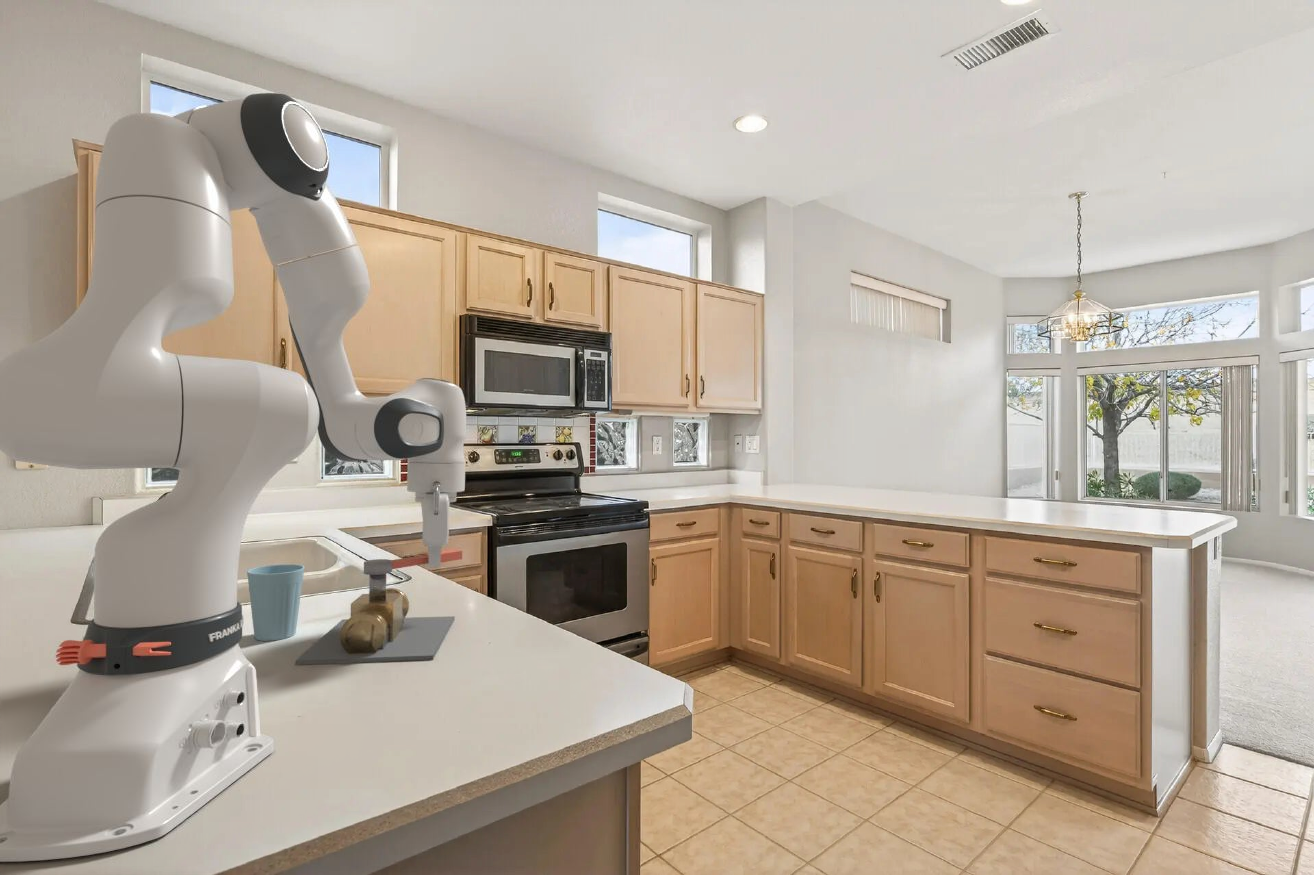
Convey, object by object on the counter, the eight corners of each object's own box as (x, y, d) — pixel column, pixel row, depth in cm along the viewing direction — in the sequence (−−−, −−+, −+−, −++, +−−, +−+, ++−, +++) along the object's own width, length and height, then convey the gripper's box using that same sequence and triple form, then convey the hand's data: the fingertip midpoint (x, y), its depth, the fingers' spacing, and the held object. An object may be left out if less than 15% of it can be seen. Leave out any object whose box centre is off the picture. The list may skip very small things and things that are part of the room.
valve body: (384, 656, 93) (385, 585, 93) (339, 658, 92) (340, 586, 92) (409, 624, 108) (409, 563, 108) (370, 625, 107) (371, 564, 107)
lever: (372, 576, 97) (372, 565, 97) (358, 572, 100) (358, 561, 100) (465, 560, 110) (465, 550, 110) (450, 557, 113) (450, 548, 113)
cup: (306, 638, 100) (307, 570, 100) (247, 646, 96) (248, 576, 96) (300, 626, 107) (301, 562, 107) (245, 633, 102) (246, 567, 102)
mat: (432, 659, 92) (433, 655, 92) (295, 664, 89) (295, 660, 89) (454, 619, 111) (454, 616, 111) (342, 623, 109) (342, 619, 109)
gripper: (459, 484, 96) (457, 578, 96) (454, 477, 116) (452, 555, 116) (414, 484, 94) (411, 580, 94) (417, 477, 114) (414, 556, 114)
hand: (434, 566), depth 105 cm, fingers closed
